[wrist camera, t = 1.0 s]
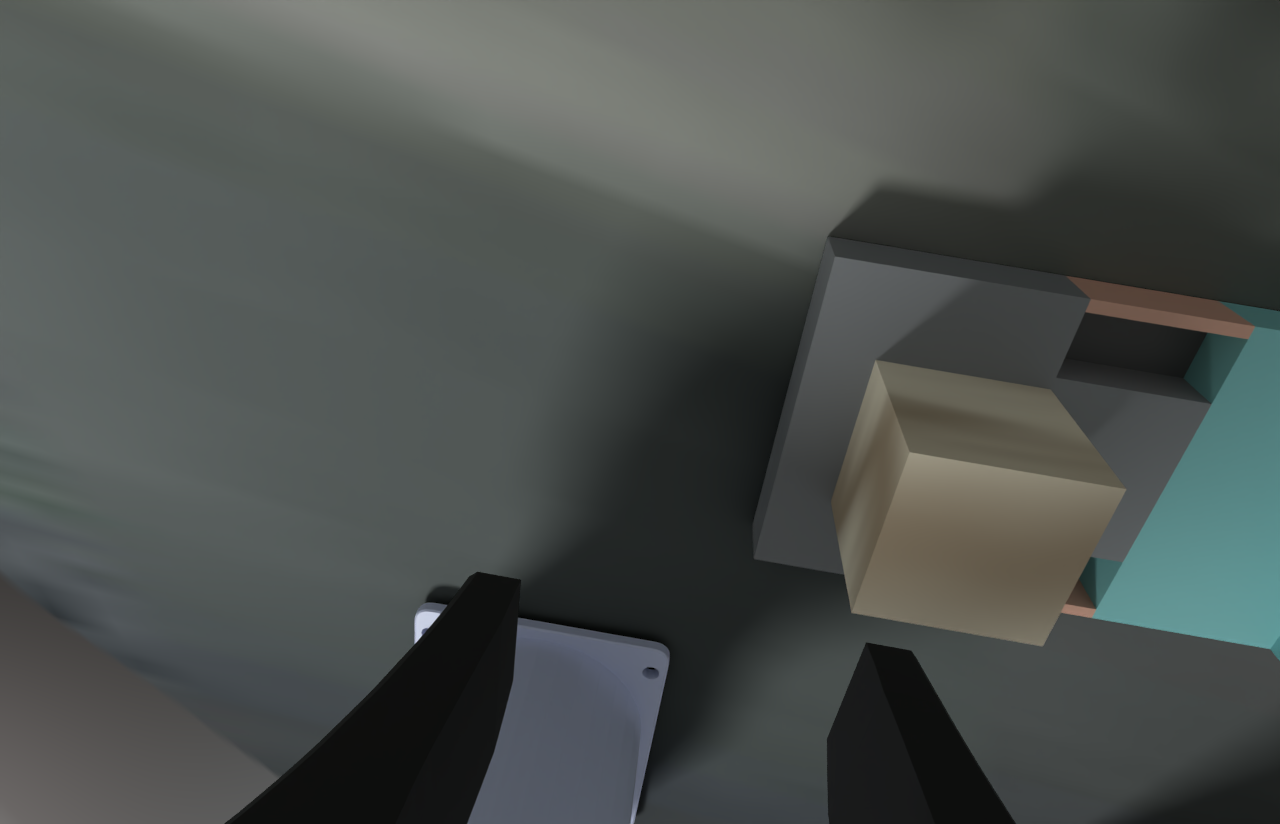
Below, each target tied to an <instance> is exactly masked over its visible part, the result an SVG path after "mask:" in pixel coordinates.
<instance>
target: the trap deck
mask: <svg viewBox="0 0 1280 824" xmlns="http://www.w3.org/2000/svg"><path fill="white" fill-rule="evenodd" d="M875 360H879V361H885V362H891V363H897V364H903V365H909V366H915V367H921V368H926V369H932V370H938V371H944V372H950V373H956V374H962V375H968V376H974V377H980V378H986V379H992V380H997V381H1003V382H1009V383H1015V384H1021V385H1027V386H1033V387H1039V388H1045V389H1051V390H1052V392H1053V393H1054V394H1055V396H1056V397H1057V398H1058V400H1059V401H1060V402H1061V404H1062V405H1063V406H1064V408H1065V409H1066V410H1067V411H1068V413H1069V414H1070V415H1071V417H1072V418H1073V419H1074V421H1075V422H1076V423H1077V425H1078V426H1079V427H1080V429H1081V430H1082V431H1083V433H1084V434H1085V435H1086V437H1087V438H1088V439H1089V440H1090V442H1091V443H1092V444H1093V446H1094V447H1095V448H1096V450H1097V451H1098V452H1099V454H1100V455H1101V456H1102V458H1103V459H1104V460H1105V462H1106V463H1107V464H1108V466H1109V467H1110V468H1111V469H1112V471H1113V472H1114V473H1115V475H1116V476H1117V477H1118V479H1119V480H1120V481H1121V483H1122V484H1123V485H1124V487H1125V488H1126V491H1125V493H1124V495H1123V497H1122V499H1121V501H1120V503H1119V504H1118V506H1117V508H1116V510H1115V512H1114V514H1113V516H1112V518H1111V519H1110V521H1109V523H1108V525H1107V527H1106V529H1105V531H1104V533H1103V534H1102V536H1101V538H1100V540H1099V542H1098V544H1097V546H1096V548H1095V549H1094V551H1093V553H1092V555H1091V557H1090V559H1089V561H1088V562H1087V564H1086V566H1085V568H1084V570H1083V572H1082V574H1081V576H1080V577H1079V579H1078V581H1077V583H1076V585H1075V587H1074V589H1073V591H1072V592H1071V594H1070V596H1069V598H1068V600H1067V602H1066V604H1065V606H1064V607H1063V609H1062V611H1061V613H1066V614H1072V615H1078V616H1084V617H1089V618H1095V619H1101V620H1107V621H1112V622H1118V623H1124V624H1130V625H1135V626H1141V627H1147V628H1153V629H1158V630H1164V631H1170V632H1176V633H1181V634H1187V635H1193V636H1199V637H1204V638H1210V639H1216V640H1222V641H1227V642H1233V643H1239V644H1244V645H1250V646H1256V647H1262V648H1267V649H1271V651H1272V652H1273V653H1274V654H1275V656H1276V657H1277V658H1278V659H1279V661H1280V311H1275V310H1269V309H1263V308H1257V307H1251V306H1245V305H1239V304H1233V303H1227V302H1221V301H1215V300H1209V299H1203V298H1197V297H1191V296H1185V295H1179V294H1173V293H1167V292H1161V291H1155V290H1149V289H1143V288H1137V287H1131V286H1125V285H1119V284H1113V283H1107V282H1101V281H1095V280H1089V279H1083V278H1077V277H1071V276H1065V275H1059V274H1053V273H1047V272H1041V271H1035V270H1029V269H1023V268H1017V267H1011V266H1004V265H998V264H992V263H986V262H980V261H974V260H968V259H962V258H956V257H950V256H944V255H938V254H932V253H926V252H920V251H914V250H908V249H902V248H896V247H890V246H884V245H878V244H872V243H866V242H860V241H854V240H848V239H842V238H836V237H830V236H828V237H827V241H826V245H825V248H824V252H823V256H822V260H821V264H820V268H819V271H818V275H817V279H816V283H815V287H814V291H813V294H812V298H811V302H810V306H809V310H808V314H807V317H806V321H805V325H804V329H803V333H802V337H801V340H800V344H799V348H798V352H797V356H796V360H795V363H794V367H793V371H792V375H791V379H790V383H789V386H788V390H787V394H786V398H785V402H784V406H783V409H782V413H781V417H780V421H779V425H778V429H777V432H776V436H775V440H774V444H773V448H772V452H771V455H770V459H769V463H768V467H767V471H766V475H765V478H764V482H763V486H762V490H761V494H760V498H759V501H758V505H757V509H756V513H755V517H754V521H753V524H752V528H753V555H754V559H756V560H762V561H768V562H774V563H779V564H785V565H791V566H797V567H802V568H808V569H814V570H819V571H825V572H831V573H837V574H842V575H844V570H843V565H842V559H841V554H840V549H839V543H838V538H837V533H836V527H835V522H834V517H833V511H832V506H831V499H832V496H833V493H834V490H835V487H836V484H837V480H838V477H839V474H840V471H841V468H842V465H843V461H844V458H845V455H846V452H847V449H848V446H849V442H850V439H851V436H852V433H853V430H854V427H855V423H856V420H857V417H858V414H859V411H860V408H861V404H862V401H863V398H864V395H865V392H866V389H867V385H868V382H869V379H870V376H871V373H872V370H873V366H874V363H875Z"/></svg>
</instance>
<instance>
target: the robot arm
mask: <svg viewBox="0 0 1280 824" xmlns="http://www.w3.org/2000/svg"><path fill="white" fill-rule="evenodd" d="M520 586H521V580H520V579H514V578H509V577H503V576H498V575H492V574H487V573H481V572H476V573H475V574H473V575H471V576H469V577H468V579H467V580H466V582H465V583H464V584H463V586H462V587H461V588H460V590H459V591H458V592H457V594H456V595H455V596H454V598H453V599H452V600H451V601H450V603H449V604H448V605H444V604H439V603H425V604H422V605H421V606H420V607H419V609H418V611H417V613H416V615H415V645H414V646H413V647H412V648H411V649H410V650H409V651H408V652H407V653H406V654H405V655H404V657H403V658H402V659H401V660H400V661H399V662H398V663H397V664H396V665H395V666H394V667H393V668H392V670H391V671H390V672H389V673H388V674H387V675H386V676H385V677H384V678H383V679H382V680H381V681H380V683H379V684H378V685H377V686H376V687H375V688H374V689H373V690H372V691H371V692H370V693H369V694H368V695H367V696H366V697H365V698H364V699H363V700H362V701H361V702H360V703H359V704H358V705H357V706H356V707H355V708H354V709H353V710H352V711H351V712H350V713H349V714H348V715H347V716H346V717H345V718H344V719H343V720H342V721H341V722H340V723H339V724H337V725H336V726H335V727H334V728H333V729H332V730H331V731H330V732H329V733H328V734H327V735H326V736H325V737H324V738H323V739H322V740H321V741H320V742H319V743H318V744H317V745H316V746H315V747H314V748H313V749H311V750H310V751H309V752H308V753H307V754H306V755H305V756H304V757H303V758H302V759H300V760H299V761H298V762H297V763H296V764H295V765H294V766H293V767H292V768H290V769H289V770H288V771H287V772H286V773H285V774H284V775H282V776H281V777H280V778H279V779H278V780H277V781H276V782H274V783H273V784H272V785H271V786H270V787H268V788H267V789H266V790H265V791H264V792H263V793H261V794H260V795H259V796H258V797H257V798H255V799H254V800H253V801H252V802H251V803H250V804H248V805H247V806H246V807H245V808H243V809H242V810H241V811H240V812H239V813H238V814H236V815H235V816H234V817H232V818H231V819H230V820H228V821H227V822H226V823H225V824H634V821H635V816H636V812H637V807H638V803H639V798H640V794H641V789H642V785H643V780H644V775H645V771H646V766H647V762H648V757H649V753H650V748H651V744H652V739H653V735H654V730H655V726H656V721H657V716H658V712H659V707H660V703H661V698H662V694H663V689H664V685H665V680H666V676H667V671H668V667H669V660H670V652H669V650H668V648H667V647H666V646H664V645H663V644H661V643H658V642H654V641H648V640H643V639H637V638H631V637H626V636H620V635H614V634H609V633H603V632H597V631H592V630H586V629H580V628H575V627H569V626H563V625H558V624H552V623H546V622H541V621H535V620H529V619H524V618H518V612H519V599H520ZM647 667H653V668H655V670H650V669H648V668H647ZM827 782H828V816H829V824H1016V823H1015V822H1014V820H1013V819H1012V817H1011V815H1010V814H1009V812H1008V811H1007V809H1006V807H1005V806H1004V804H1003V803H1002V801H1001V800H1000V798H999V796H998V795H997V793H996V792H995V790H994V789H993V787H992V785H991V784H990V782H989V781H988V779H987V777H986V776H985V774H984V773H983V771H982V770H981V768H980V766H979V765H978V763H977V761H976V760H975V758H974V756H973V755H972V753H971V751H970V750H969V748H968V746H967V745H966V743H965V741H964V740H963V738H962V736H961V735H960V733H959V731H958V730H957V728H956V726H955V724H954V723H953V721H952V719H951V718H950V716H949V714H948V712H947V711H946V709H945V707H944V706H943V704H942V702H941V700H940V699H939V697H938V695H937V693H936V692H935V690H934V688H933V686H932V685H931V683H930V681H929V679H928V678H927V676H926V674H925V672H924V671H923V669H922V667H921V665H920V664H919V662H918V660H917V658H916V657H915V656H914V654H913V653H912V651H910V650H905V649H899V648H894V647H888V646H883V645H877V644H872V643H866V644H865V647H864V649H863V652H862V654H861V657H860V659H859V662H858V664H857V666H856V669H855V671H854V674H853V676H852V679H851V681H850V684H849V686H848V689H847V691H846V694H845V696H844V698H843V701H842V703H841V706H840V708H839V711H838V713H837V716H836V718H835V721H834V723H833V726H832V728H831V730H830V733H829V735H828V738H827Z"/></svg>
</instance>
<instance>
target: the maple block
mask: <svg viewBox="0 0 1280 824" xmlns="http://www.w3.org/2000/svg"><path fill="white" fill-rule="evenodd" d="M1125 491H1126V488H1125V487H1124V485H1123V484H1122V483H1121V481H1120V480H1119V479H1118V477H1117V476H1116V475H1115V473H1114V472H1113V471H1112V469H1111V468H1110V467H1109V466H1108V464H1107V463H1106V462H1105V460H1104V459H1103V458H1102V456H1101V455H1100V454H1099V452H1098V451H1097V450H1096V448H1095V447H1094V446H1093V444H1092V443H1091V442H1090V440H1089V439H1088V438H1087V437H1086V435H1085V434H1084V433H1083V431H1082V430H1081V429H1080V427H1079V426H1078V425H1077V423H1076V422H1075V421H1074V419H1073V418H1072V417H1071V415H1070V414H1069V413H1068V411H1067V410H1066V409H1065V408H1064V406H1063V405H1062V404H1061V402H1060V401H1059V400H1058V398H1057V397H1056V396H1055V394H1054V393H1053V392H1052V390H1051V389H1045V388H1039V387H1033V386H1027V385H1021V384H1015V383H1009V382H1003V381H997V380H992V379H986V378H980V377H974V376H968V375H962V374H956V373H950V372H944V371H938V370H932V369H926V368H921V367H915V366H909V365H903V364H897V363H891V362H885V361H879V360H875V363H874V366H873V370H872V373H871V376H870V379H869V382H868V385H867V389H866V392H865V395H864V398H863V401H862V404H861V408H860V411H859V414H858V417H857V420H856V423H855V427H854V430H853V433H852V436H851V439H850V442H849V446H848V449H847V452H846V455H845V458H844V461H843V465H842V468H841V471H840V474H839V477H838V480H837V484H836V487H835V490H834V493H833V496H832V499H831V506H832V511H833V517H834V522H835V527H836V533H837V538H838V543H839V549H840V554H841V559H842V565H843V570H844V575H845V581H846V586H847V591H848V597H849V602H850V608H851V613H855V614H861V615H866V616H872V617H878V618H883V619H889V620H895V621H901V622H906V623H912V624H918V625H923V626H929V627H935V628H941V629H946V630H952V631H958V632H963V633H969V634H975V635H981V636H986V637H992V638H998V639H1003V640H1009V641H1015V642H1021V643H1026V644H1032V645H1038V646H1043V645H1044V643H1045V641H1046V639H1047V637H1048V635H1049V634H1050V632H1051V630H1052V628H1053V626H1054V624H1055V622H1056V621H1057V619H1058V617H1059V615H1060V613H1061V611H1062V609H1063V607H1064V606H1065V604H1066V602H1067V600H1068V598H1069V596H1070V594H1071V592H1072V591H1073V589H1074V587H1075V585H1076V583H1077V581H1078V579H1079V577H1080V576H1081V574H1082V572H1083V570H1084V568H1085V566H1086V564H1087V562H1088V561H1089V559H1090V557H1091V555H1092V553H1093V551H1094V549H1095V548H1096V546H1097V544H1098V542H1099V540H1100V538H1101V536H1102V534H1103V533H1104V531H1105V529H1106V527H1107V525H1108V523H1109V521H1110V519H1111V518H1112V516H1113V514H1114V512H1115V510H1116V508H1117V506H1118V504H1119V503H1120V501H1121V499H1122V497H1123V495H1124V493H1125Z"/></svg>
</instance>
